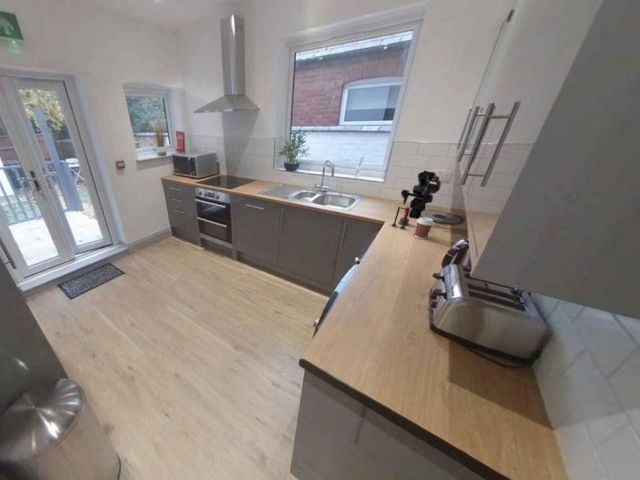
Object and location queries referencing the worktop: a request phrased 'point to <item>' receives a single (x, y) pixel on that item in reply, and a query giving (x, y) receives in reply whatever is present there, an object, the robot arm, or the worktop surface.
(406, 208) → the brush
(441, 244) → the worktop surface
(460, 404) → the worktop surface
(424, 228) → the coffee cup
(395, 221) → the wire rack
